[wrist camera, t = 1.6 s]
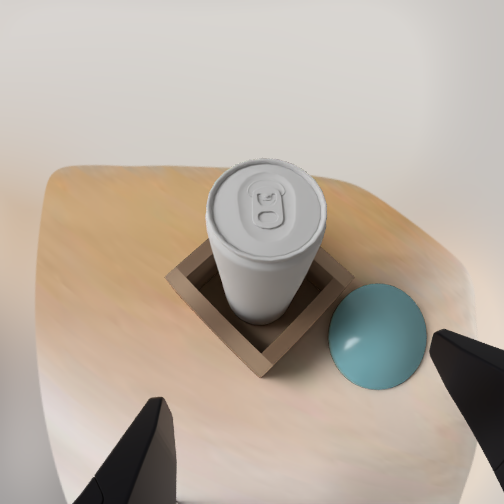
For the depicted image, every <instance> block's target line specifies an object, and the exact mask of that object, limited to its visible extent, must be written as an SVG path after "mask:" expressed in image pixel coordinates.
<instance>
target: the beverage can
mask: <svg viewBox="0 0 504 504" xmlns="http://www.w3.org/2000/svg"><path fill="white" fill-rule="evenodd" d="M206 208H207V211H206V226H207V233H208V237H209V241H210V244H211V248H212V251H213V255H214V258H215V261H216V264H217V267H218V271H219V274H220V277H221V280H222V284H223V288H224V291H225V295H226V298H227V301H228V303H229V305H230V308H231V309H232V311H233V312H234V313H235V314H236V316H238V317H239V318H240V319H241V320H243V321H245V322H248V323H250V324H257V325H262V324H268V323H271V322H273V321H275V320H277V319H278V318H279V317H281V316H282V315H283V314H284V313H285V311H286V310H287V308H288V307H289V305H290V303H291V301H292V299H293V297H294V295H295V294H296V292H297V290H298V289H299V287H300V285H301V283H302V281H303V279H304V278H305V276H306V274H307V272H308V270H309V268H310V265H311V263H312V261H313V259H314V257H315V255H316V253H317V251H318V249H319V247H320V245H321V243H322V239H323V236H324V233H325V229H326V219H327V204H326V201H325V198H324V195H323V192H322V190H321V188H320V187H319V185H318V184H317V182H316V181H315V180H314V179H313V178H312V177H311V176H310V175H309V174H308V173H307V172H306V171H304V170H303V169H301V168H299V167H297V166H295V165H294V164H292V163H288V162H285V161H282V160H278V159H267V158H261V159H253V160H248V161H245V162H242V163H239V164H236V165H235V166H233V167H232V168H230V169H228V170H227V171H225V172H224V173H223V174H222V175H221V176H220V177H219V178H218V179H217V180H216V181H215V183H214V185H213V187H212V189H211V191H210V192H209V196H208V201H207V206H206Z"/></svg>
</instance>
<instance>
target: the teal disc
mask: <svg viewBox="0 0 504 504" xmlns="http://www.w3.org/2000/svg"><path fill="white" fill-rule="evenodd" d="M426 339H427V335H426V326H425V322H424V318H423V316H422V313H421V311H420V309H419V308H418V306H417V305H416V303H415V302H414V301H413V300H412V299H411V297H410V296H408V295H407V294H406V293H405V292H403V291H402V290H400V289H398V288H396V287H394V286H390V285H386V284H369V285H365V286H362V287H360V288H358V289H356V290H354V291H353V292H351V293H350V294H349V295H347V296H346V297H345V298H344V299H343V300H342V301H341V303H340V304H339V305H338V307H337V308H336V310H335V312H334V314H333V316H332V319H331V322H330V326H329V333H328V341H329V349H330V353H331V356H332V359H333V361H334V363H335V365H336V367H337V368H338V370H339V371H340V372H341V373H342V374H343V375H344V377H345V378H347V379H348V380H349V381H350V382H352V383H354V384H356V385H358V386H360V387H363V388H367V389H375V390H380V389H388V388H392V387H394V386H397V385H399V384H401V383H402V382H404V381H405V380H407V379H408V378H409V377H410V376H411V375H412V374H413V373H414V372H415V370H416V369H417V368H418V366H419V364H420V362H421V360H422V358H423V355H424V352H425V348H426Z"/></svg>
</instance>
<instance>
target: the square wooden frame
mask: <svg viewBox="0 0 504 504" xmlns="http://www.w3.org/2000/svg"><path fill="white" fill-rule="evenodd" d="M218 272H219V271H218V267H217V264H216V261H215V258H214V255H213V251H212V248H211V244H210V241H209V238H208V239H207V240H206V241H205V242H204V243H203V244H201V245H200V246H199V247H198V248H197V249H196V250H194V251H193V252H192V253H191V254H190V255H189V256H188V257H186V258H185V259H184V260H183V261H182V262H181V263H180V264H179V265H177V266H176V267H175V268H174V269H173V270H172V271H171V272H169V273H168V274H167V275H166V276H165V279H166V280H167V281H168V282H169V284H170V285H171V286H172V288H173V289H174V290H175V291H176V293H177V294H178V295H179V296H180V297H181V298H182V299H183V300H184V302H185V303H186V304H187V305H188V306H189V307H190V308H191V309H192V310H193V311H194V312H195V313H196V314H197V316H198V317H199V318H200V319H201V320H202V321H203V322H204V323H205V324H206V325H207V326H208V327H209V328H210V329H211V330H212V331H213V332H214V333H215V334H216V335H217V336H218V337H219V338H220V339H221V341H222V342H223V343H224V344H225V345H226V346H227V347H228V348H229V349H230V350H231V351H232V352H233V353H234V354H235V355H236V356H237V357H238V358H239V359H240V360H241V361H242V362H244V363H245V364H246V365H247V366H248V367H249V368H250V369H251V370H252V371H253V372H254V373H255V374H256V375H257V376H258V377H259V378H261V377H262V376H263V375H264V374H265V373H266V372H267V371H268V370H269V369H270V368H271V367H272V366H273V365H274V364H275V363H276V362H277V361H278V360H279V359H280V358H281V357H282V356H283V355H284V354H285V353H286V352H287V351H288V350H289V349H290V348H291V347H292V346H293V345H294V344H295V343H296V342H297V341H298V340H299V339H300V338H301V337H302V336H303V335H304V333H305V332H306V331H307V330H308V329H309V328H310V327H311V326H312V325H313V324H314V323H315V322H316V321H317V320H318V318H319V317H320V316H321V315H322V314H323V313H324V312H325V311H326V310H327V308H328V307H329V306H330V305H331V304H332V303H333V302H334V301H335V299H336V298H337V297H338V296H339V295H340V294H341V293H342V292H343V290H344V289H345V288H346V287H347V286H348V285H349V283H350V282H351V281H352V280H353V279H354V278H355V277H354V276H353V275H352V274H351V273H350V272H349V271H347V270H346V269H345V268H344V267H343V266H342V265H341V264H340V263H338V262H337V261H336V260H335V259H334V258H333V257H332V256H331V255H329V254H328V253H327V252H326V251H325V250H324V249H323V248H321V247H319V249H318V251H317V253H316V255H315V257H314V259H313V261H312V263H311V265H310V268H309V270H308V272H307V274H306V276H305V278H307V279H308V280H309V281H310V282H311V283H312V284H313V285H314V286H315V287H316V288H318V289H319V290H320V291H321V292H320V294H319V295H318V296H317V297H316V298H315V299H314V300H313V301H312V302H311V303H310V304H309V305H308V306H307V307H306V308H305V310H304V311H303V312H302V313H301V314H300V315H299V316H298V317H297V318H296V319H295V320H294V321H293V322H292V323H291V324H290V325H289V326H288V327H287V328H286V329H285V330H284V331H283V332H282V333H281V334H280V335H279V336H278V337H277V338H276V339H275V340H274V341H273V342H272V343H271V344H270V345H269V346H268V347H267V348H266V349H265V350H264V351H263V352H262V353H260V352H259V351H258V350H257V349H256V348H255V347H254V346H253V345H252V344H251V343H250V342H249V341H247V340H246V339H245V338H244V337H243V336H242V335H241V334H240V333H239V332H238V331H237V330H236V329H235V328H234V327H233V326H232V325H231V324H230V323H229V322H228V321H227V320H226V319H225V318H224V317H223V316H222V315H221V314H220V313H219V312H218V311H217V309H216V308H215V307H214V306H213V305H212V304H211V303H210V302H209V301H208V300H207V299H206V298H205V297H204V296H203V295H202V294H201V293H200V292H199V291H198V290H199V289H200V288H201V287H202V286H203V285H204V284H205V283H207V282H208V281H209V280H210V279H211V278H212V277H213V276H214V275H215V274H216V273H218Z"/></svg>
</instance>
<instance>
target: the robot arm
mask: <svg viewBox="0 0 504 504" xmlns="http://www.w3.org/2000/svg"><path fill="white" fill-rule="evenodd" d="M429 353H430V357H431V359H432V361H433V363H434V365H435V367H436V369H437V371H438V373H439V375H440V377H441V379H442V381H443V383H444V385H445V387H446V389H447V390H448V392H449V394H450V395H451V397H452V399H453V400H454V402H455V403H456V405H457V407H458V408H459V410H460V412H461V413H462V415H463V417H464V418H465V420H466V422H467V424H468V425H469V427H470V429H471V430H472V432H473V434H474V436H475V437H476V439H477V441H478V443H479V445H480V446H481V448H482V450H483V452H484V454H485V456H486V458H487V459H488V461H489V463H490V465H491V467H492V469H493V471H494V473H495V475H496V477H497V479H498V481H499V483H500V485H501V487H502V489H503V491H504V350H502V349H499V348H496V347H493V346H490V345H487V344H485V343H482V342H479V341H477V340H474V339H471V338H468V337H466V336H463V335H460V334H457V333H455V332H452V331H449V330H446V329H441V330H439V331H436V332H435V333H434V334H433V337H432V342H431V346H430V350H429ZM176 470H177V460H176V449H175V438H174V426H173V417H172V413H171V411H170V409H169V407H168V405H167V403H166V401H165V399H164V398H163V397H153V398H150V399H149V400H148V401H147V403H146V404H145V406H144V407H143V408H142V410H141V411H140V413H139V414H138V415H137V417H136V418H135V420H134V421H133V422H132V424H131V425H130V427H129V428H128V429H127V431H126V432H125V434H124V435H123V436H122V438H121V439H120V440H119V442H118V443H117V445H116V446H115V447H114V449H113V450H112V452H111V453H110V454H109V456H108V457H107V459H106V460H105V461H104V463H103V464H102V466H101V467H100V468H99V470H98V471H97V473H96V474H95V477H93V478H92V479H91V481H90V482H89V484H88V485H87V486H86V488H85V489H84V490H83V491H82V493H81V494H80V495H79V497H78V498H77V499H76V500H75V501H74V502H73V503H72V504H176Z"/></svg>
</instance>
